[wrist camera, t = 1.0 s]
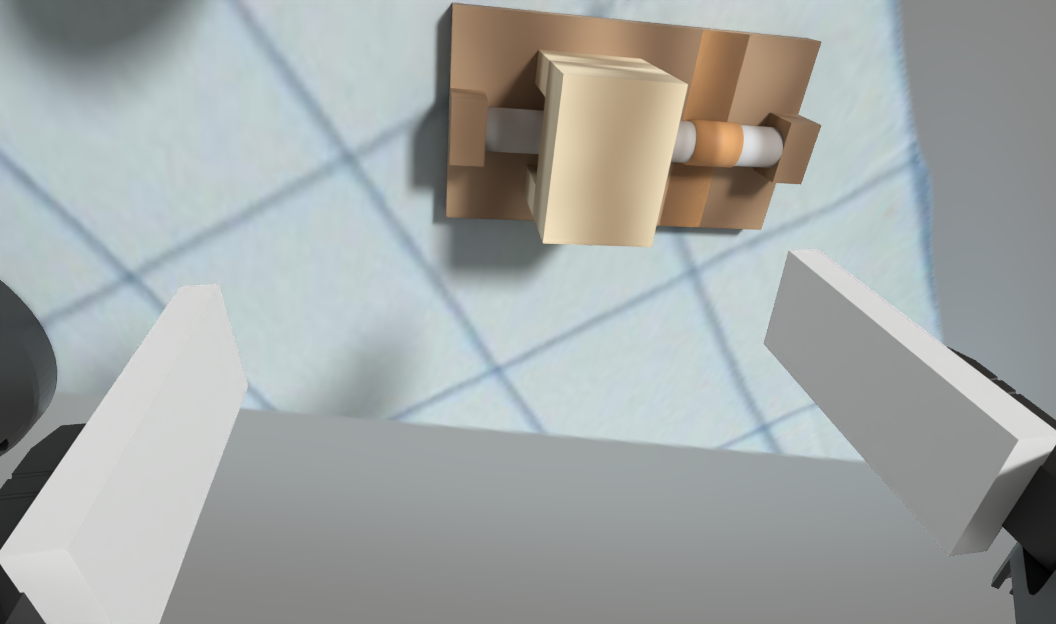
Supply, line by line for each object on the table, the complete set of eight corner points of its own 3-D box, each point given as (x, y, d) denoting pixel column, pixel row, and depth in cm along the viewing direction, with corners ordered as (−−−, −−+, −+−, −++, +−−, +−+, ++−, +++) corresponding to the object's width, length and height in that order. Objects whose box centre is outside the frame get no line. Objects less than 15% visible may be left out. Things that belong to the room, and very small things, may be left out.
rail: (445, 208, 33) (447, 234, 30) (452, 2, 27) (454, 9, 24) (751, 221, 36) (780, 246, 33) (808, 38, 30) (849, 48, 28)
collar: (524, 193, 31) (542, 243, 26) (538, 49, 28) (563, 74, 23) (615, 197, 32) (651, 247, 27) (640, 58, 29) (688, 84, 23)
